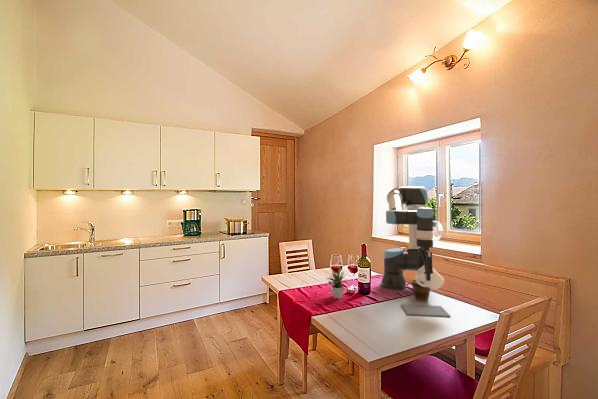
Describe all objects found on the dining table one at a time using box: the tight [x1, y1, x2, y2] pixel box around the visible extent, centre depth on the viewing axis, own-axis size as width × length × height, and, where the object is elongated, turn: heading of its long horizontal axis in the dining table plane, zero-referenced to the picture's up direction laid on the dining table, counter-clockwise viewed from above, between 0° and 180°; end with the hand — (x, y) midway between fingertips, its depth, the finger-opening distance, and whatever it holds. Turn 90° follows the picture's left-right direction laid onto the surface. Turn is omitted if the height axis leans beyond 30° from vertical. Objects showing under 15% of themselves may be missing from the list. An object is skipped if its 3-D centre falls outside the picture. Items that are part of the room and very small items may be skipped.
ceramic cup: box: [406, 278, 431, 303], centre depth 157 cm, size 13×10×10 cm
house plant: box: [324, 267, 348, 299], centre depth 162 cm, size 14×14×16 cm
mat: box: [400, 304, 451, 318], centre depth 141 cm, size 20×12×1 cm, turn 83°
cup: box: [414, 265, 445, 291], centre depth 142 cm, size 8×12×10 cm
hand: (424, 283), depth 141 cm, fingers closed on cup, 8 cm apart
